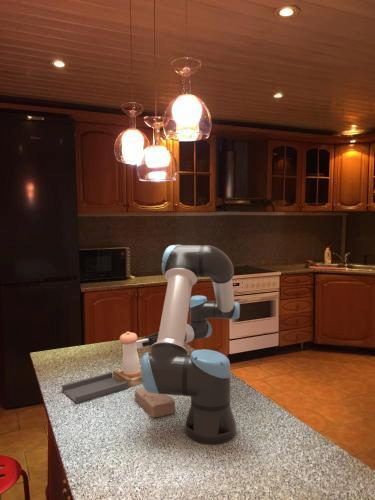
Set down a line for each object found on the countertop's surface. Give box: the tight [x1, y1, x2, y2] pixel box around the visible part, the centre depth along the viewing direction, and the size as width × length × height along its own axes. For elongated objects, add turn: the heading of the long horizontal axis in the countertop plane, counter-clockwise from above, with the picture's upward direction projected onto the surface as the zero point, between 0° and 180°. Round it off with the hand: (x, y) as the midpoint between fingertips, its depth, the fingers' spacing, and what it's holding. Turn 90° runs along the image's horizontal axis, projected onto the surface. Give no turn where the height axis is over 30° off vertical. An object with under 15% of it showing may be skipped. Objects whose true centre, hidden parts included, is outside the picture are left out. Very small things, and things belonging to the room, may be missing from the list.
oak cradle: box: [112, 369, 143, 388], centre depth 157 cm, size 12×11×3 cm
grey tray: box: [61, 371, 129, 405], centre depth 147 cm, size 20×13×2 cm, turn 129°
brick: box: [134, 385, 176, 418], centre depth 135 cm, size 17×8×5 cm, turn 29°
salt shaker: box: [119, 331, 141, 379], centre depth 156 cm, size 7×7×19 cm
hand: (134, 345), depth 158 cm, fingers closed
